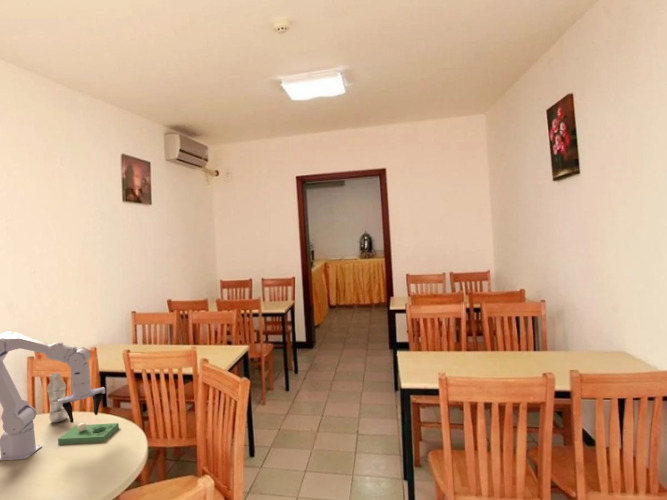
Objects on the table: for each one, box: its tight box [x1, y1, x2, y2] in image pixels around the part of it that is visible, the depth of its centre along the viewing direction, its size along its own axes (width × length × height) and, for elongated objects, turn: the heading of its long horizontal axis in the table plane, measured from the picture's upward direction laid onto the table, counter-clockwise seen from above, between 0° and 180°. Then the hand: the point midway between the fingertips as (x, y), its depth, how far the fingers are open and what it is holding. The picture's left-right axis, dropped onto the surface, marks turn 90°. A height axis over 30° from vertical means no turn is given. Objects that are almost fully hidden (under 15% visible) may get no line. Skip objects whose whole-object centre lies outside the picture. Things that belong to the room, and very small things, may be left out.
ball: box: [77, 422, 88, 432], centre depth 148 cm, size 3×3×3 cm
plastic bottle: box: [46, 372, 69, 424], centre depth 162 cm, size 6×7×20 cm
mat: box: [57, 422, 120, 445], centre depth 148 cm, size 17×10×2 cm, turn 90°
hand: (84, 417), depth 143 cm, fingers open, 7 cm apart
